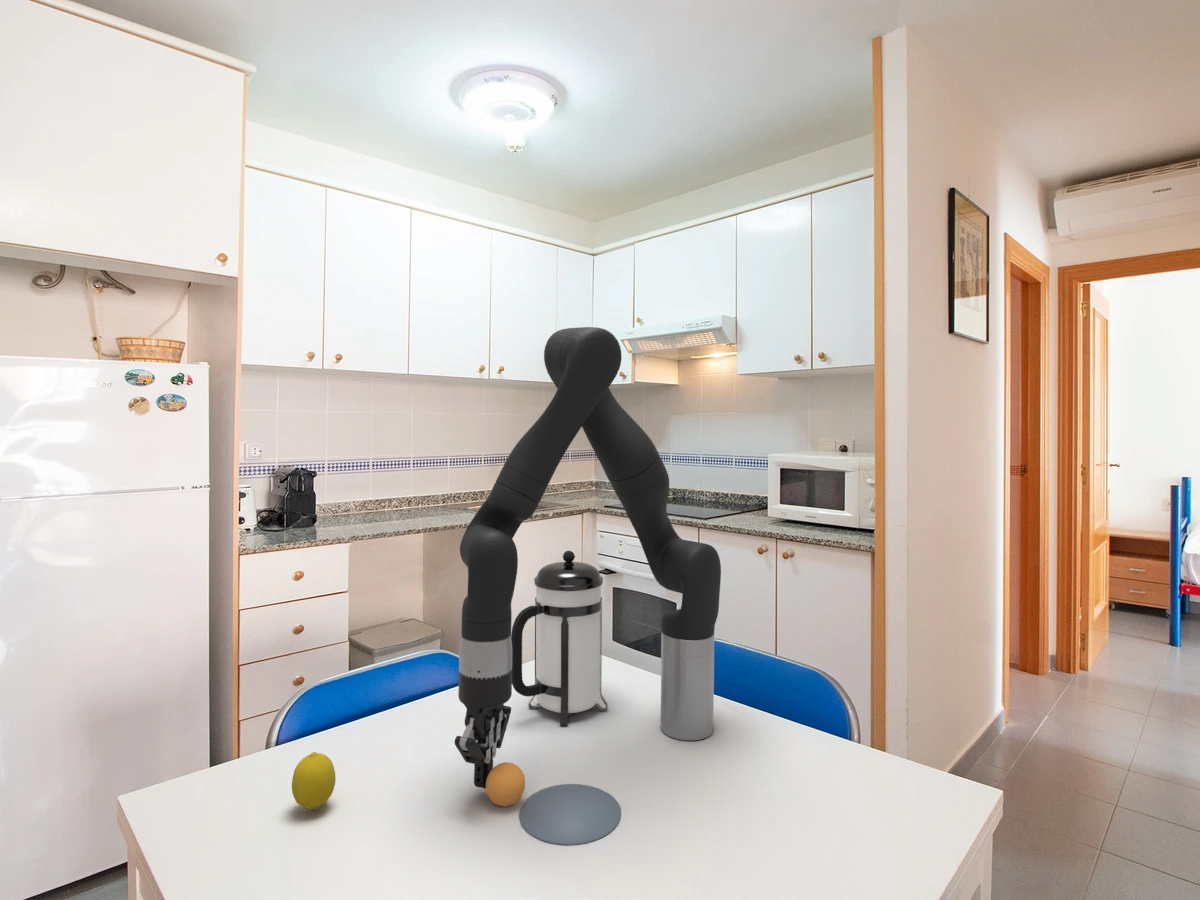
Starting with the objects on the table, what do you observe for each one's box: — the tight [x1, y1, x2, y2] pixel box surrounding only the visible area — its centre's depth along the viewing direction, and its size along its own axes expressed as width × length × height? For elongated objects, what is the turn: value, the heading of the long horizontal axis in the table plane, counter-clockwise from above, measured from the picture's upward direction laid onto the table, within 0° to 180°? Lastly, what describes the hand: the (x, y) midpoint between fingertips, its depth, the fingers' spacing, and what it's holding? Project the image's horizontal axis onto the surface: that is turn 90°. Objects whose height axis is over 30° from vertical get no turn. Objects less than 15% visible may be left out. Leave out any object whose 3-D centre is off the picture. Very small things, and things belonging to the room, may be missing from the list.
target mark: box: [518, 783, 622, 846], centre depth 91 cm, size 14×14×1 cm
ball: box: [485, 761, 526, 807], centre depth 93 cm, size 6×6×6 cm
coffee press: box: [511, 550, 609, 727], centre depth 122 cm, size 17×16×30 cm
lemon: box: [291, 751, 336, 811], centre depth 91 cm, size 6×6×8 cm
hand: (483, 784), depth 95 cm, fingers closed
